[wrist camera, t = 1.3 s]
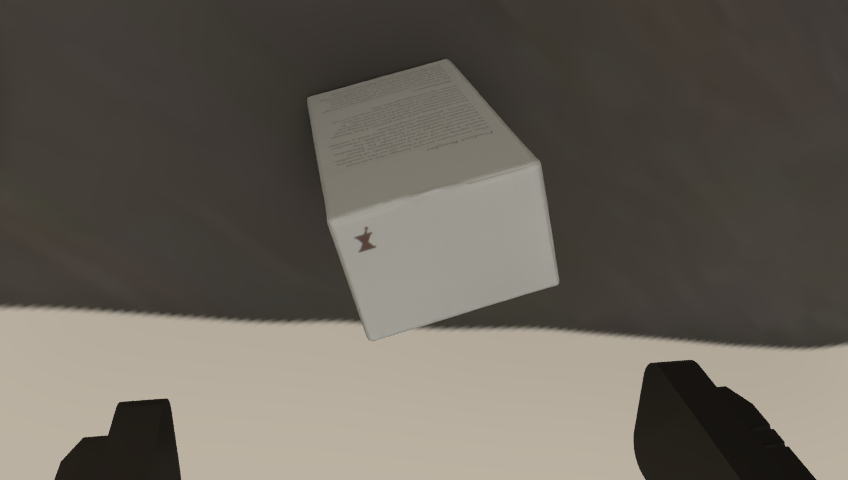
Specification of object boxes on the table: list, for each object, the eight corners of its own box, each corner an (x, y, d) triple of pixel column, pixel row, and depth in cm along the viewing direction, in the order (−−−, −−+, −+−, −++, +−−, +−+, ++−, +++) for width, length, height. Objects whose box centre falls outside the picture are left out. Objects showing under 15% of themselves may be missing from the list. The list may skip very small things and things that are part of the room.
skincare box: (334, 191, 34) (362, 348, 23) (304, 94, 32) (320, 218, 21) (473, 151, 34) (565, 289, 23) (452, 54, 32) (541, 155, 21)
